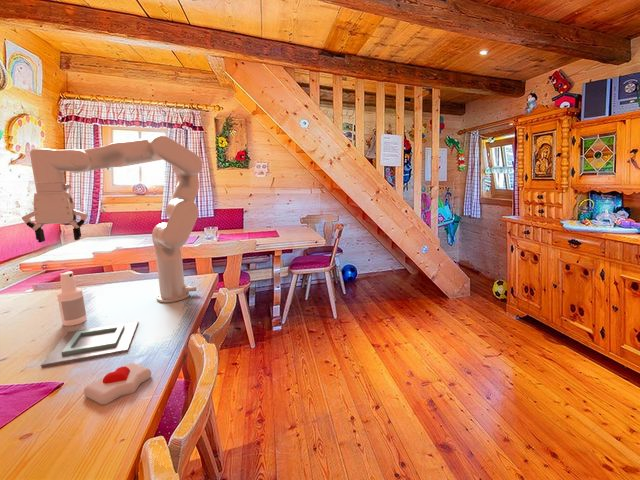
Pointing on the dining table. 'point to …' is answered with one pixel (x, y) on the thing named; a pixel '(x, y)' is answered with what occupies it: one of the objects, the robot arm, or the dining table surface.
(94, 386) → the icon
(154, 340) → the dining table surface
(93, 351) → the dock
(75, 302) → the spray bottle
